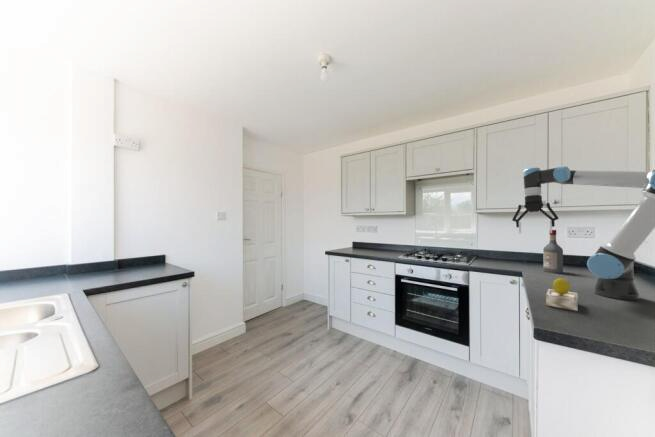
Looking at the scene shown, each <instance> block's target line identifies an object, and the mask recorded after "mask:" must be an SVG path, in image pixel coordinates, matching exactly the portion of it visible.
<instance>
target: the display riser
mask: <svg viewBox="0 0 655 437" xmlns="http://www.w3.org/2000/svg"><path fill="white" fill-rule="evenodd" d="M578 297H579V296H578V293H577V292H571V291H569V292H568V293H567V294H564V295H560V294H558V293H557V292H555V290H554V289H552V288H548V289H547V291H546V294H545V305H546V306H548V307H549V306H550V307H554V308H559V309H560V308H561V309H565V310H571V311H575V312H576V311H577V312H578V305H579V304H578V303H579V302H578Z"/></svg>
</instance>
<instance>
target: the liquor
mask: <svg viewBox="0 0 655 437" xmlns="http://www.w3.org/2000/svg"><path fill="white" fill-rule="evenodd" d="M542 254H543V259H542V260H543V261H542V262H543V263H542V264H543V265H542V266H543V268H542V269H543V271H544V272H545V271H546V272H545V273H550V272H551V273H552V274H563V272H564V250H563V248H562V247H561V246H560V245H559V244H558V243H557V230H556V229H552V233H550V232H549V242H548V244H546V245H545V246H544V247H543V253H542ZM551 273H550V274H551Z"/></svg>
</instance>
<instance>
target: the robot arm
mask: <svg viewBox="0 0 655 437" xmlns="http://www.w3.org/2000/svg"><path fill="white" fill-rule="evenodd" d="M522 178H523V187H524V191H523V192H524V204H518V206H517V207H518V208H517V210H516V212H515V214H514V215H513V218H512V220H511V221H513V222H515V224H516V226H515V227H516V228H518V234H522V226H521V225H522V224H521V220H522V219H523V218H524V217H525V216H526V215H527V213H537V212H541V214H543V215H544V216H546V217H547V218H548V219H549V234H550V233H552V230H553V227H555V225H556V224H555V221H557V220H559V216H558V214H556V212H555V211H554V210H553V209H552V206H551V205H550V202H547V203H543V195H542V185H544V184H550V183H555V184H560V185H579V186H580V185H582V186H594V187H595V186H597V187H599V186H600V187H614V188H615V187H619V188H620V187H621V188H635V189H637V188H638V189H642V190H641V192H642V195H643V197H642V198H641V200H640V201H639V202H638V203H637V205H636V206H635V208H634V209H633V210H632V212H630V214H629V215H628V217H627V218H626V219H625V221H624V222H623V224H622V225H620V227H619V228H618V230H617V231H616V232H615V234H614V236H612V238H611V239H610V240H609V242H607V243H605V244H601V245H600V247H599V248H598V249H597V250H596V252H595V253H594V254H593V255H591V256H590V257H589V258H588V259H587V262H586V266H587V269H588V270H589V271H590V272H591V274H593V275H594V276H595V277H598V278H597V280H596V282H595V284H594V287H593V293H594V294H595V295H598V296H602V297H606V298H612V299H618V300H626V301H637V300H640V293H639V291H638V289H637V287H636V286H637V285H636V284H635V281H634V276H635V275H634V274H635V271H634V269H635V268H634V266H635V262H634V261H635V260H636V259H637V258H636V255H635V252H636V251H637V250H638V249H639V248H640V247H641V245H642V244H643V243H644V241H646V239H647V238H648V237H649V235H650V234H651V233H653V230H654V229H655V169H652V170H650V171H631V170H629V171H624V170H621V171H620V170H619V171H618V170H570V168H569V167H568V166H558V167H554V168H547V169H543V170H541V168H539V167H529V168H527V169H524V170H523V177H522ZM543 207H545V208H547V210H548V211H549V212H550V213H551V214H552V216H553V217H552V216H551V215H550V214H548V213H547V212H546V211H545V210H544V209H542V208H543ZM523 208H524V209H525V211H523V213H522V214H520V212H521V210H523ZM519 214H520V216H519ZM518 216H519V217H518ZM517 217H518V218H517Z"/></svg>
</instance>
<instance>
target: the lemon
mask: <svg viewBox="0 0 655 437" xmlns="http://www.w3.org/2000/svg"><path fill="white" fill-rule="evenodd" d="M569 283H570V282H569V281H568V280H566V279H565V278H563V277H559V278H556V279H554V281H553V283H552V288H553V290H555V292H557V293H558V294H560V295H564V294H567V293H568V292H570V290H571V286H570V284H569Z"/></svg>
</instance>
